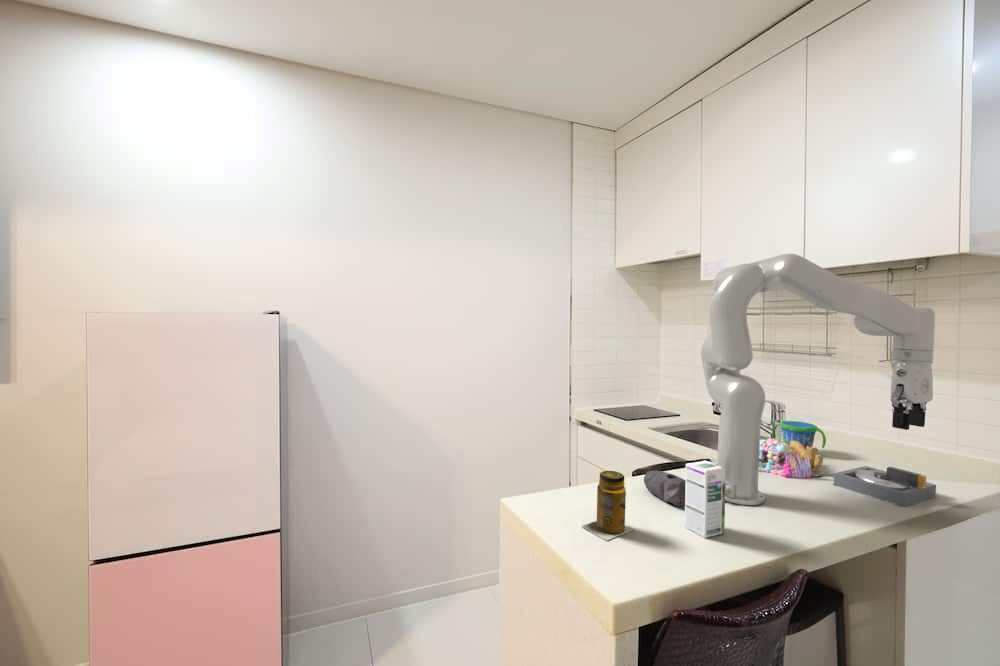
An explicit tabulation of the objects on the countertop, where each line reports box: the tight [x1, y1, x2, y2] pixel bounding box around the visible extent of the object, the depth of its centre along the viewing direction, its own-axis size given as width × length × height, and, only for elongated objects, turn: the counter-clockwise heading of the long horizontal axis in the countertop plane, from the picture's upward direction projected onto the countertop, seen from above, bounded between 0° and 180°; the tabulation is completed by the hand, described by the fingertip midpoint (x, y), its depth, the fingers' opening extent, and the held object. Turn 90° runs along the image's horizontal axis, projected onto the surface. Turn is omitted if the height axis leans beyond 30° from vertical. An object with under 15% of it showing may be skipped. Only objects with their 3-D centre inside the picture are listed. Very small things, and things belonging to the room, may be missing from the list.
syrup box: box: [684, 460, 726, 539], centre depth 97 cm, size 6×6×14 cm
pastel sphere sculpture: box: [759, 437, 825, 480], centre depth 141 cm, size 25×24×9 cm
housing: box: [833, 465, 937, 508], centre depth 122 cm, size 16×16×3 cm
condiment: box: [581, 470, 634, 542], centre depth 97 cm, size 7×8×12 cm
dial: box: [855, 466, 927, 491], centre depth 121 cm, size 15×12×5 cm
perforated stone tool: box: [643, 470, 686, 507], centre depth 114 cm, size 15×5×7 cm, turn 22°
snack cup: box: [771, 420, 827, 449], centre depth 155 cm, size 16×10×10 cm
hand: (908, 426), depth 112 cm, fingers open, 6 cm apart
